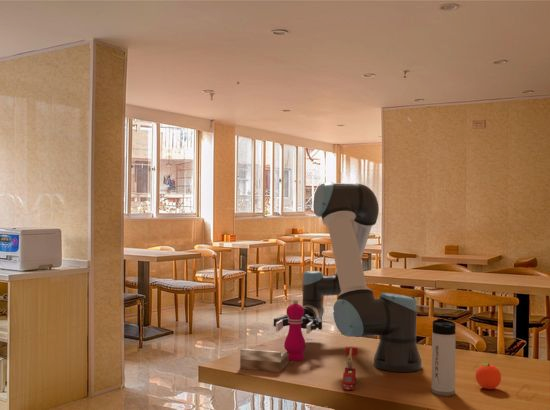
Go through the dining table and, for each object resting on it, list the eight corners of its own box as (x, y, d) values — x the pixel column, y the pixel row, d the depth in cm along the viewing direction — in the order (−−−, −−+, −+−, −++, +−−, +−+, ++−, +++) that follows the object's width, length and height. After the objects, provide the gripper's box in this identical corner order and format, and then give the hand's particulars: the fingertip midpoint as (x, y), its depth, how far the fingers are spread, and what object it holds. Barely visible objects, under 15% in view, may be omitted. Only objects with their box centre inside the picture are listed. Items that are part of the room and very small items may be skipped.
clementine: (467, 387, 169) (467, 362, 169) (478, 382, 174) (479, 358, 174) (494, 394, 163) (494, 368, 163) (505, 389, 168) (505, 364, 168)
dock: (288, 363, 193) (288, 344, 193) (279, 372, 182) (280, 352, 182) (250, 359, 196) (251, 341, 196) (240, 368, 185) (240, 349, 185)
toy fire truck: (342, 390, 164) (342, 356, 164) (346, 377, 178) (346, 345, 178) (354, 391, 164) (354, 356, 164) (357, 377, 177) (357, 345, 177)
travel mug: (450, 388, 167) (451, 318, 167) (458, 396, 161) (459, 322, 161) (428, 388, 167) (429, 318, 167) (435, 396, 160) (436, 322, 160)
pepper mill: (309, 357, 200) (310, 299, 200) (298, 362, 194) (299, 301, 194) (290, 354, 204) (291, 297, 204) (280, 359, 198) (280, 299, 198)
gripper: (336, 329, 213) (325, 342, 192) (277, 324, 219) (259, 337, 198) (336, 308, 213) (325, 319, 192) (277, 304, 219) (259, 315, 198)
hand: (292, 328), depth 195 cm, fingers open, 10 cm apart
